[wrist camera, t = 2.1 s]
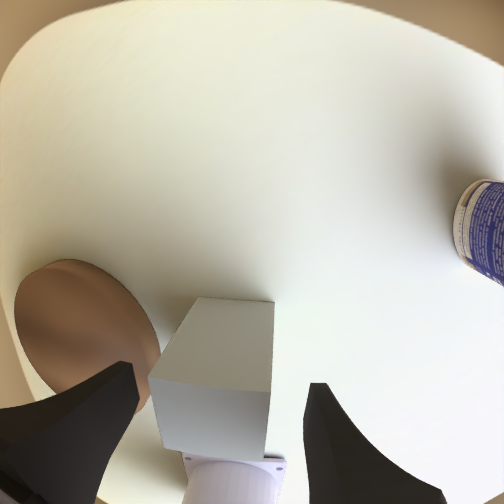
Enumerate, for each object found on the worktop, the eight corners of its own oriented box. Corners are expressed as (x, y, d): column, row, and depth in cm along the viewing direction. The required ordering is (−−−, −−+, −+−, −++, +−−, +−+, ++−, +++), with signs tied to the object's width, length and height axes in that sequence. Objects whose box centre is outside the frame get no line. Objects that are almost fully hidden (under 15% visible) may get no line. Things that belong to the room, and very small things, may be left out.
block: (269, 365, 16) (262, 462, 9) (200, 358, 16) (163, 448, 10) (274, 302, 15) (270, 392, 8) (198, 296, 15) (147, 376, 9)
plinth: (170, 415, 18) (162, 434, 16) (52, 381, 19) (39, 394, 17) (152, 266, 15) (136, 278, 13) (20, 253, 16) (1, 261, 14)
